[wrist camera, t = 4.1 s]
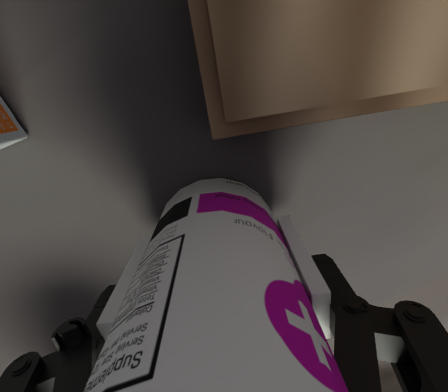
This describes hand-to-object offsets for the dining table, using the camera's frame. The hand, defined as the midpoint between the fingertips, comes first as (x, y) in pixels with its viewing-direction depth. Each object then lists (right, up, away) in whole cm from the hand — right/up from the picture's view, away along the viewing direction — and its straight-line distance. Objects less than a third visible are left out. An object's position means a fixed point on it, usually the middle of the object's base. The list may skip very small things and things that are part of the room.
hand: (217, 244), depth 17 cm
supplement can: (0, +1, +2) cm, 2 cm away
